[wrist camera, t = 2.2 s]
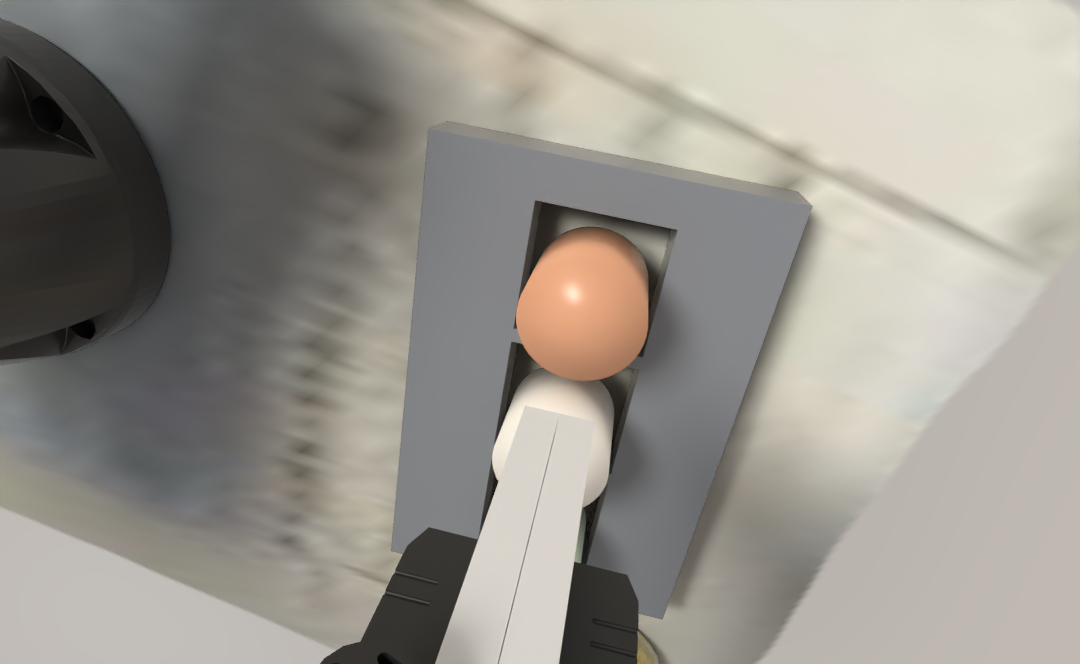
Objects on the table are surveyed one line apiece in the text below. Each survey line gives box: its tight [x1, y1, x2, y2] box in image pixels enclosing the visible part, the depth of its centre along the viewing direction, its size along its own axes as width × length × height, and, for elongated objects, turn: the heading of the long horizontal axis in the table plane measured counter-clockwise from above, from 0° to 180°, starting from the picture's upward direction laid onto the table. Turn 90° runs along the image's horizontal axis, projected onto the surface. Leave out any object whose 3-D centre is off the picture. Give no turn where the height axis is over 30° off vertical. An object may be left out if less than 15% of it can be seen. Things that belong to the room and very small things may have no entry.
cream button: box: [492, 368, 614, 508], centre depth 25 cm, size 4×4×4 cm
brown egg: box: [516, 227, 648, 381], centre depth 23 cm, size 4×4×4 cm
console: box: [391, 121, 812, 619], centre depth 28 cm, size 14×21×2 cm, turn 170°
